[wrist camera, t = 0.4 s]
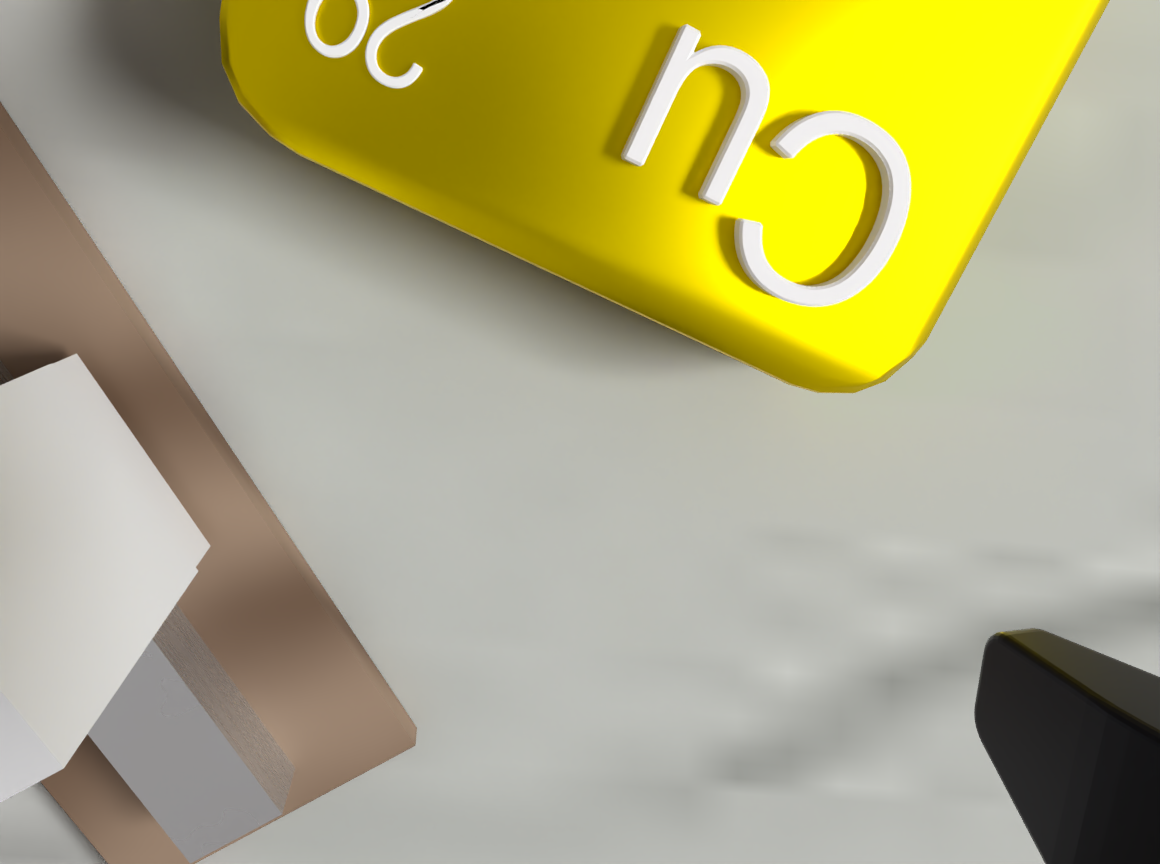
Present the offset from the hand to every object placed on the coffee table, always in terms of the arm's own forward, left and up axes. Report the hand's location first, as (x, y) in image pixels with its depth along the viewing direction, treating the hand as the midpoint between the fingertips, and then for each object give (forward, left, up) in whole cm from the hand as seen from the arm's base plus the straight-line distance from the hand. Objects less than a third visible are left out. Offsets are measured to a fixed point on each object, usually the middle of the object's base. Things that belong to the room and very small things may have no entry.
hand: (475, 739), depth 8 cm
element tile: (+10, -5, -16) cm, 19 cm away
